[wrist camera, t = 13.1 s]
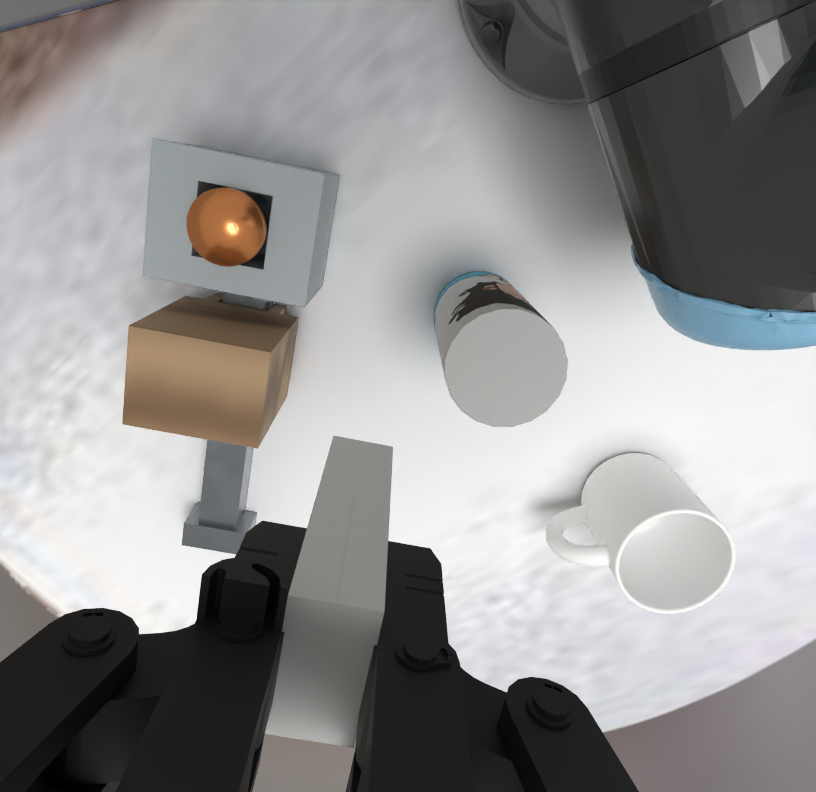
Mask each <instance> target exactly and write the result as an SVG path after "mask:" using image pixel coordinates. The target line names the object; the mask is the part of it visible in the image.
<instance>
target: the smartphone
mask: <svg viewBox="0 0 816 792" xmlns="http://www.w3.org/2000/svg"><path fill="white" fill-rule="evenodd" d="M114 1H118V0H0V32H4V31H8V30H12V29H15V28H19V27H23V26H26V25H30V24H34V23H37V22H41V21H45V20H48V19H52V18H56V17H59V16H64V15H68V14H71V13H75V12H79V11H82V10H85V9H88V8H92V7H96V6H99V5H103V4H107V3H110V2H114Z"/></svg>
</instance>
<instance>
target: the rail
mask: <svg viewBox="0 0 816 792" xmlns="http://www.w3.org/2000/svg"><path fill="white" fill-rule="evenodd" d="M223 303H226V304H231V305H237V306H242V307H247V308H252V309H257V310H263V311H269V310H270V309H271V308H272V305H273V301H269V300H264V299H259V298H254V297H249V296H244V295H238V294H233V293H228V292H224V294H223ZM252 455H253V447H247V446H241V445H236V444H230V443H225V442H219V441H214V440H208V441H207V450H206V459H205V468H204V478H203V487H202V496H201V503H198V502H197V504H196V506H195V507H194V509H193V510H192V512H191V513H190V515H189V516H188V518H187V519H186V521H185V522H184V528H183V538H182V545H185V546H191V547H197V548H203V549H208V550H214V551H220V552H226V553H232V554H237V552H238V550H239V549H240V545H241V543H242V541H243V539H244V537H245V534H246V532H247V531H249V530H250V529H251V528H253V527H254V526H255V522H256V515H257V513H256V512H250V511H245V507H246V500H247V492H248V485H249V477H250V470H251V462H252Z"/></svg>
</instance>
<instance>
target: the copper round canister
mask: <svg viewBox="0 0 816 792" xmlns="http://www.w3.org/2000/svg"><path fill="white" fill-rule="evenodd" d="M271 207H272V205H271V204H270V203H269V202H268V201H267V200H265V199H264V198H262V197H260V196H257V195H248V194H246V193H244V192H243V191H240V190H237V189H234V188H215V189H211V190H208V191H206V192H204V193H202V194H201V195H200V196H198V197H197V198H196V199H195V201H194V202H193V203H192V205H191V207H190V209H189V211H188V215H187V224H186V226H187V233H188V237H189V239H190V242H191V244H192V245H193V247H194V248H195V250H196V251H197V252H198V253H199V254H200V255H201V256H202V257H203V258H204V259H206V260H207V261H209V262H211V263H213V264H216V265H219V266H226V267H230V266H237V265H240V264H243V263H245V262H247V261H249V260H250V259H252V258H253V257H254V256H256V255H257V254H258V252H259V251H260V250H261V248H262V246H263V244H265V243H267V239H268V231H269V223H270V215H271Z"/></svg>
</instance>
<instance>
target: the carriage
mask: <svg viewBox="0 0 816 792" xmlns="http://www.w3.org/2000/svg"><path fill="white" fill-rule="evenodd" d="M285 312H286V306H282V305H277V304H275V305H274V306H273V307H272V308H271V309H270V310H269V311H263V310H257V309H252V308H247V307H242V306H237V305H231V304H226V303H223V294H220V293H216V294H215V295H213V296H211V297H210V298H208V299H206V300H205V299H200V298H195V297H190V296H185V297H183V298H181V299H179V300H177V301H175V302H173V303H171V304H170V305H168V306H166V307H164V308H162V309H160V310H158V311H156V312H154V313H152V314H150V315H148V316H147V317H145V318H143V319H141V320H139V321H137V322H135V323H133V324H131V325H129V331H128V346H127V362H126V377H125V393H124V408H123V424H124V425H130V426H135V427H141V428H147V429H152V430H158V431H163V432H169V433H174V434H180V435H186V436H191V437H197V438H202V439H208V440H214V441H219V442H225V443H230V444H236V445H241V446H247V447H253V448H258V447H259V445H260V444H261V442H262V440H263V438H264V436H265V435H266V433H267V431H268V429H269V427H270V426H271V424H272V422H273V420H274V418H275V417H276V415H277V413H278V411H279V409H280V408H281V406H282V404H283V402H284V401H285V399H286V397H287V393H288V386H289V379H290V373H291V366H292V359H293V352H294V345H295V339H296V332H297V325H298V318H299V317H294V316H288V315H285Z"/></svg>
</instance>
